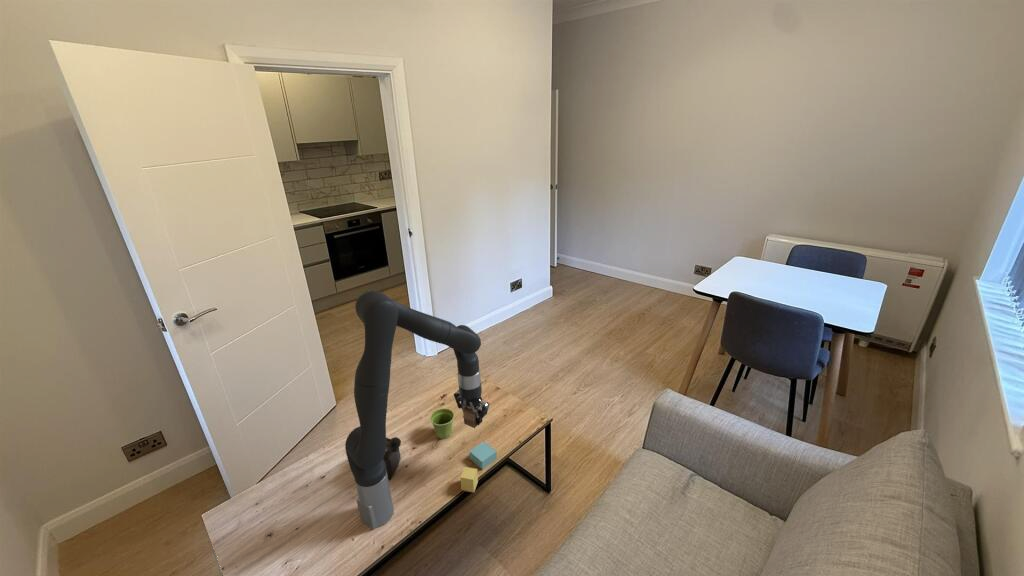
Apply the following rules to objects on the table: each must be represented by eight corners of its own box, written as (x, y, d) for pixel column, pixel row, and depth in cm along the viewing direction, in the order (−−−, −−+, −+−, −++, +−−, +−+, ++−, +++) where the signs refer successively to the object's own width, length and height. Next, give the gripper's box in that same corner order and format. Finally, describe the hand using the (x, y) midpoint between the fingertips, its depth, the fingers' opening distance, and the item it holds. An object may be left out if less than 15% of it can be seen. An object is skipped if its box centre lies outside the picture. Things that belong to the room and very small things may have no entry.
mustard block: (474, 492, 138) (473, 479, 136) (461, 490, 139) (460, 477, 137) (477, 481, 142) (477, 469, 140) (465, 479, 143) (464, 466, 141)
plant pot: (453, 442, 159) (452, 424, 155) (429, 442, 159) (427, 424, 156) (457, 425, 168) (456, 408, 164) (434, 425, 168) (432, 408, 164)
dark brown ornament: (361, 480, 143) (352, 440, 136) (374, 455, 153) (367, 417, 146) (404, 484, 142) (397, 444, 134) (414, 459, 152) (409, 421, 144)
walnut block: (474, 428, 141) (473, 414, 139) (464, 423, 143) (462, 410, 141) (482, 420, 145) (481, 406, 142) (472, 415, 147) (470, 402, 144)
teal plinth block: (482, 470, 147) (482, 461, 145) (470, 459, 152) (469, 451, 150) (496, 459, 151) (496, 451, 150) (484, 449, 156) (483, 441, 154)
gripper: (445, 381, 137) (450, 420, 144) (480, 395, 130) (483, 435, 137) (459, 369, 143) (463, 407, 150) (493, 382, 136) (496, 421, 143)
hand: (473, 420), depth 144 cm, fingers closed on walnut block, 4 cm apart
